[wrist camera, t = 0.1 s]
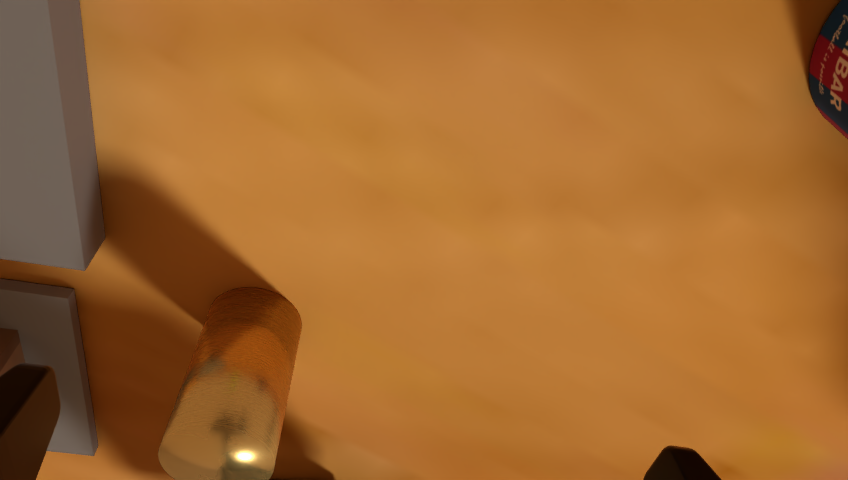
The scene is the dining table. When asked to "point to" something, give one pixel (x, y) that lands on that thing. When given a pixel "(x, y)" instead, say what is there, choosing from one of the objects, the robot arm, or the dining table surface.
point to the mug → (832, 69)
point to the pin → (234, 390)
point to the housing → (10, 349)
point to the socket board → (47, 138)
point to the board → (54, 355)
